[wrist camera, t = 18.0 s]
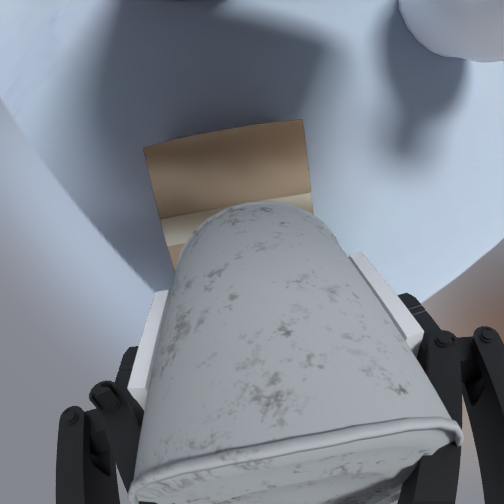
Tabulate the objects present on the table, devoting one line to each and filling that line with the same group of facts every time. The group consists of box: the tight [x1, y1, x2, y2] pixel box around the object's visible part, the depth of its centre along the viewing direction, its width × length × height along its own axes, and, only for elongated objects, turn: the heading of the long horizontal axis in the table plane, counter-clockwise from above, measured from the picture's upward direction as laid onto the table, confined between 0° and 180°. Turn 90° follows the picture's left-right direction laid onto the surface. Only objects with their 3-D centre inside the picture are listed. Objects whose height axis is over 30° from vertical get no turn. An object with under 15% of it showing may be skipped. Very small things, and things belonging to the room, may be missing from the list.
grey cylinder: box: [128, 201, 464, 504], centre depth 12 cm, size 10×10×12 cm
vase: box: [398, 0, 504, 62], centre depth 15 cm, size 14×14×20 cm
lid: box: [143, 119, 313, 271], centre depth 25 cm, size 14×12×1 cm
